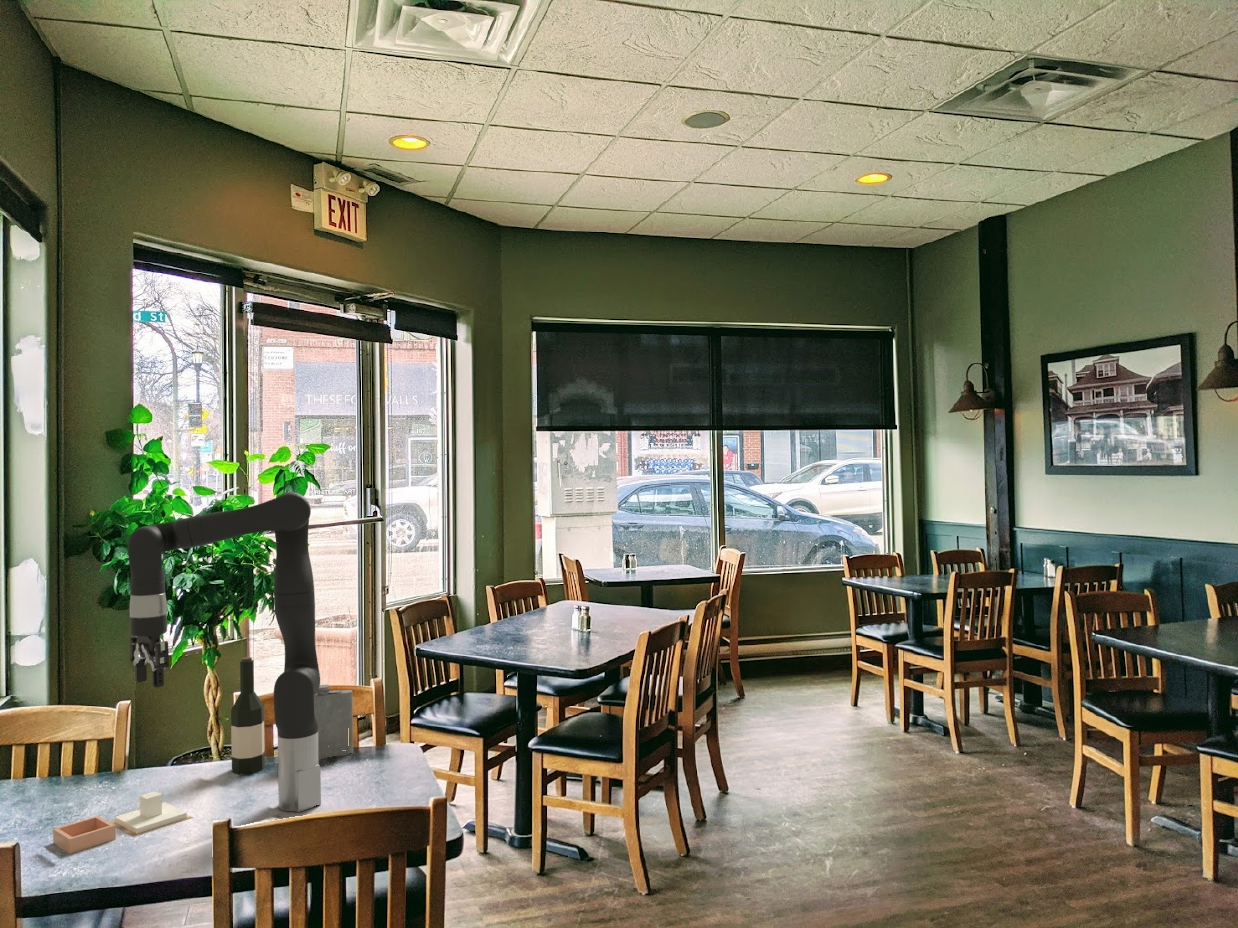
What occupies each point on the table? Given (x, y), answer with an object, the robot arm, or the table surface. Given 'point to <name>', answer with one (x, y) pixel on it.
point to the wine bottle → (247, 725)
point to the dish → (84, 834)
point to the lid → (150, 814)
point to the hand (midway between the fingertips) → (149, 684)
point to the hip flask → (334, 721)
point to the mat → (148, 830)
